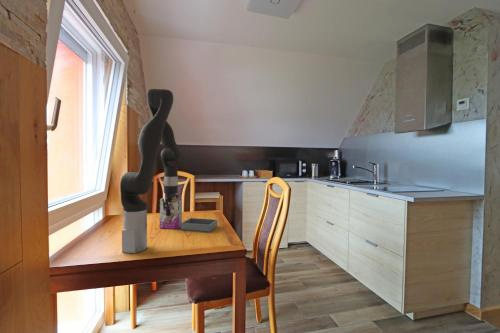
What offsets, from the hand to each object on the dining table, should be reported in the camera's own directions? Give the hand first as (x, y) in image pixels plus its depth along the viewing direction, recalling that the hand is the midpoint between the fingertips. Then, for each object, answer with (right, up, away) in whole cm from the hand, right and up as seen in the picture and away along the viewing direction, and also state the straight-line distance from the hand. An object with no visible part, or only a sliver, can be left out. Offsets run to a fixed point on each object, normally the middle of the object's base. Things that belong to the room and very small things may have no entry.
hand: (170, 214), depth 138 cm
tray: (+16, -8, 0) cm, 18 cm away
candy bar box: (0, -8, 0) cm, 8 cm away
